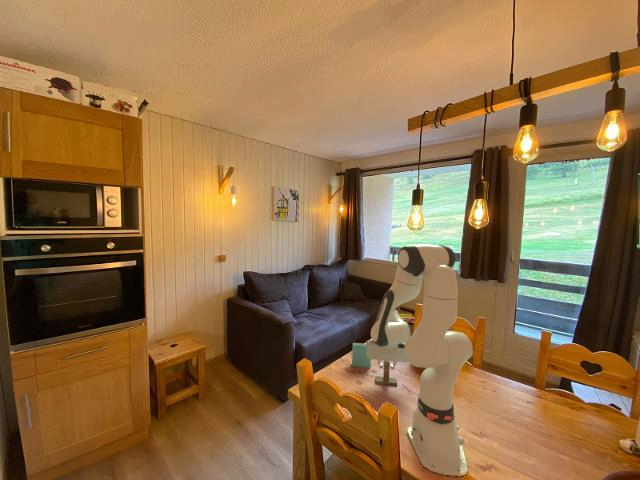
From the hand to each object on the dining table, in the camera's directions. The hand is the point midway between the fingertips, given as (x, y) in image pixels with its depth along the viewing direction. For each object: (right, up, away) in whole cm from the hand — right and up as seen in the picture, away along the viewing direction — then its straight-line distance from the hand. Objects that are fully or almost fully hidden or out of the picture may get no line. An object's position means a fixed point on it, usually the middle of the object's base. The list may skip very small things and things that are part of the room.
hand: (386, 368), depth 129 cm
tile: (-10, -6, +15) cm, 19 cm away
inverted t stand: (0, -7, +1) cm, 7 cm away
